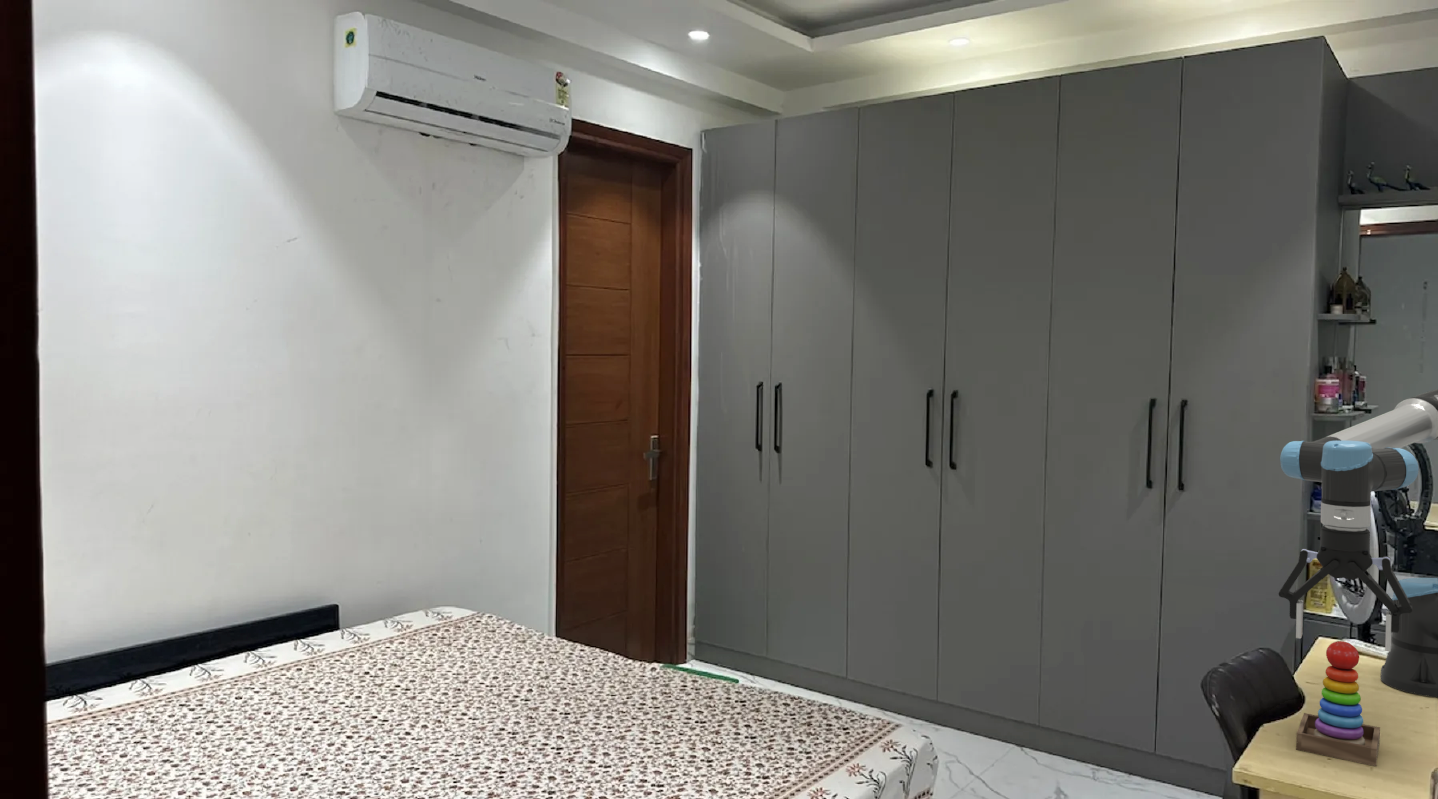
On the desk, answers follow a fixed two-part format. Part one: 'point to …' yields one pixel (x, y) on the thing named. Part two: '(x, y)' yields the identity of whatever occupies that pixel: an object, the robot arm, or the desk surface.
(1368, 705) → the desk surface
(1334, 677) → the stacking toy
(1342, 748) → the walnut open square tray
